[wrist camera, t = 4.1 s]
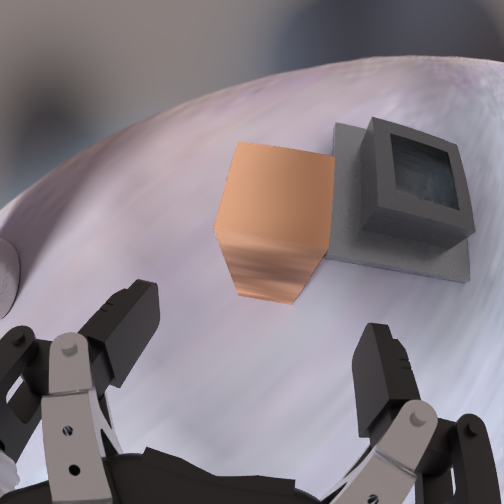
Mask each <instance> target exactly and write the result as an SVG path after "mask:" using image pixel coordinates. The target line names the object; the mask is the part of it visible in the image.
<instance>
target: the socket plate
mask: <svg viewBox="0 0 504 504" xmlns="http://www.w3.org/2000/svg"><path fill="white" fill-rule="evenodd" d="M333 156H334V157H335V167H334V186H333V202H332V215H331V227H330V238H329V248H328V250H327V251H326V253H325V258H326V259H332V260H337V261H343V262H349V263H354V264H360V265H366V266H371V267H377V268H383V269H388V270H394V271H399V272H405V273H411V274H416V275H422V276H427V277H433V278H438V279H444V280H449V281H455V282H460V283H466V282H468V281H470V264H469V251H468V240H467V237H469V236H470V235H472V234H473V233H474V232H475V226H474V220H473V213H472V207H471V202H470V197H469V192H468V187H467V182H466V178H465V173H464V169H463V165H462V162H461V158H460V154H459V151H458V147H457V145H455V144H453V143H451V142H448V141H445V140H443V139H440V138H438V137H435V136H432V135H429V134H427V133H424V132H421V131H418V130H415V129H412V128H409V127H406V126H402V125H399V124H396V123H392V122H389V121H386V120H382V119H378V118H375V117H372V118H371V121H370V123H369V125H368V128H367V130H366V129H362V128H358V127H354V126H349V125H345V124H340V123H336V122H335V126H334V135H333Z"/></svg>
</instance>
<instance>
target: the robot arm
mask: <svg viewBox="0 0 504 504" xmlns="http://www.w3.org/2000/svg"><path fill="white" fill-rule="evenodd" d="M19 274H20V268H19V258H18V254H17V251H16V250H15V248H14V246H13V245H11V244H10V243H9V242H7V241H5V240H4V239H2V238H0V319H2V318H3V317H4V316H5V315H6V314H7V312H8V311H9V309H10V308H11V306H12V303H13V301H14V299H15V296H16V292H17V288H18V283H19ZM159 321H160V308H159V296H158V286H157V284H156V283H153V282H149V281H144V280H140V279H137V280H136V281H135V282H134V283H133V284H132V285H131V286H130V287H129V288H128V289H122V290H120V291H118V292H116V293H115V294H113V295H112V296H111V297H110V298H109V299H108V300H107V301H106V303H105V304H103V305H102V306H101V308H100V310H98V311H97V312H96V313H95V314H94V315H93V316H92V317H91V318H90V319H89V321H88V322H87V323H86V324H85V325H84V326H83V327H82V328H81V329H80V330H79V332H78V333H73V332H71V333H65V334H62V335H60V336H58V337H57V338H55V339H54V341H47V340H40V339H36V337H35V334H34V332H33V330H32V329H31V328H30V327H27V326H17V327H14V328H12V329H11V330H9V331H8V332H7V333H6V334H5V335H4V336H3V337H2V338H1V340H0V504H402V503H403V501H404V500H405V498H406V496H407V495H408V493H409V492H410V490H411V488H412V487H413V485H414V483H415V504H501V497H500V490H499V484H498V478H497V472H496V467H495V462H494V458H493V453H492V449H491V445H490V441H489V437H488V433H487V430H486V427H485V424H484V422H483V421H482V420H481V419H480V418H479V417H478V416H476V415H474V414H465V415H463V416H461V417H460V418H459V419H458V420H457V422H453V421H449V420H445V419H441V418H438V417H437V414H436V412H435V410H434V409H433V408H432V406H430V405H429V404H428V403H426V402H424V401H421V398H420V394H419V391H418V387H417V384H416V381H415V377H414V374H413V371H412V370H411V365H410V362H409V361H408V360H409V359H408V356H407V353H406V350H405V348H404V347H403V345H402V344H401V343H400V342H399V341H398V339H393V338H392V335H391V332H390V329H389V326H388V325H385V324H377V323H368V324H367V325H366V327H365V329H364V332H363V334H362V336H361V338H360V341H359V343H358V345H357V347H356V349H355V352H354V355H353V359H352V372H353V380H354V389H355V398H356V408H357V419H358V431H359V437H361V438H370V444H369V445H368V447H367V448H366V449H365V450H364V452H363V453H362V454H361V455H360V457H359V458H358V459H357V460H356V462H355V463H354V464H353V465H352V467H351V468H350V469H349V470H348V471H347V472H346V474H345V475H344V476H343V477H342V478H341V479H340V480H339V482H338V483H337V484H336V485H335V486H334V487H332V488H331V489H330V490H329V491H328V492H327V493H326V494H325V495H324V496H323V497H322V498H321V499H320V500H318V499H317V498H316V497H314V496H312V495H311V494H309V493H307V492H305V491H302V490H300V489H297V488H295V480H292V479H282V478H273V477H266V476H259V475H256V476H215V475H212V474H210V473H208V472H206V471H204V470H202V469H200V468H198V467H196V466H195V465H193V464H191V463H189V462H187V461H185V460H183V459H182V458H179V457H176V456H172V455H169V454H166V453H163V452H160V451H157V450H154V449H152V448H149V447H146V449H145V451H144V453H143V454H139V453H127V454H123V451H122V449H121V446H120V444H119V441H118V439H117V436H116V433H115V429H114V425H113V421H112V417H111V412H110V407H109V403H108V398H107V393H106V389H107V387H108V386H109V384H110V385H113V386H115V387H117V388H120V387H121V385H122V384H123V382H124V381H125V379H126V377H127V376H128V374H129V372H130V371H131V369H132V368H133V366H134V364H135V363H136V361H137V360H138V358H139V357H140V355H141V353H142V352H143V350H144V349H145V347H146V345H147V344H148V342H149V341H150V339H151V338H152V336H153V335H154V333H155V331H156V330H157V328H158V325H159ZM19 376H21V378H22V379H23V382H22V384H21V385H20V386H19V388H18V389H17V390H16V392H15V393H14V395H13V396H12V398H11V399H10V400H9V402H8V403H7V402H6V395H7V393H8V391H9V390H10V388H11V387H12V386H13V384H14V383H15V381H16V380H17V379H18V377H19ZM41 419H42V429H43V441H44V451H45V459H46V466H47V473H48V479H49V480H47V481H44V482H41V483H38V484H35V485H31V486H28V487H24V488H21V489H17V490H15V486H16V485H18V484H19V482H20V478H19V476H18V474H17V468H16V463H17V461H18V459H19V457H20V455H21V453H22V451H23V450H24V448H25V446H26V444H27V442H28V441H29V439H30V437H31V435H32V434H33V432H34V430H35V429H36V427H37V425H38V423H39V422H40V420H41ZM451 468H453V470H454V477H455V485H456V491H455V494H454V496H453V485H452V477H451Z"/></svg>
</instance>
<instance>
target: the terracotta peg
mask: <svg viewBox="0 0 504 504" xmlns="http://www.w3.org/2000/svg"><path fill="white" fill-rule="evenodd" d="M334 167H335V157H334V156H329V155H323V154H318V153H313V152H307V151H301V150H295V149H289V148H283V147H276V146H269V145H262V144H254V143H245V142H238V143H237V146H236V150H235V153H234V156H233V160H232V163H231V167H230V170H229V174H228V177H227V181H226V184H225V188H224V191H223V195H222V198H221V202H220V206H219V209H218V213H217V217H216V220H215V224H214V228H213V229H214V232H215V234H216V237H217V240H218V242H219V245H220V248H221V250H222V253H223V256H224V258H225V261H226V264H227V266H228V269H229V272H230V274H231V277H232V280H233V282H234V285H235V287H236V290H237V293H238V295H240V296H245V297H251V298H256V299H262V300H268V301H273V302H279V303H285V304H291V305H292V304H293V302H294V301H295V299H296V298H297V296H298V295H299V293H300V292H301V290H302V289H303V287H304V286H305V284H306V283H307V281H308V280H309V278H310V276H311V275H312V273H313V272H314V270H315V269H316V267H317V266H318V264H319V262H320V261H321V259H322V258H323V256H324V254H325V253H326V251H327V250H328V248H329V238H330V227H331V215H332V202H333V186H334Z"/></svg>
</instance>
